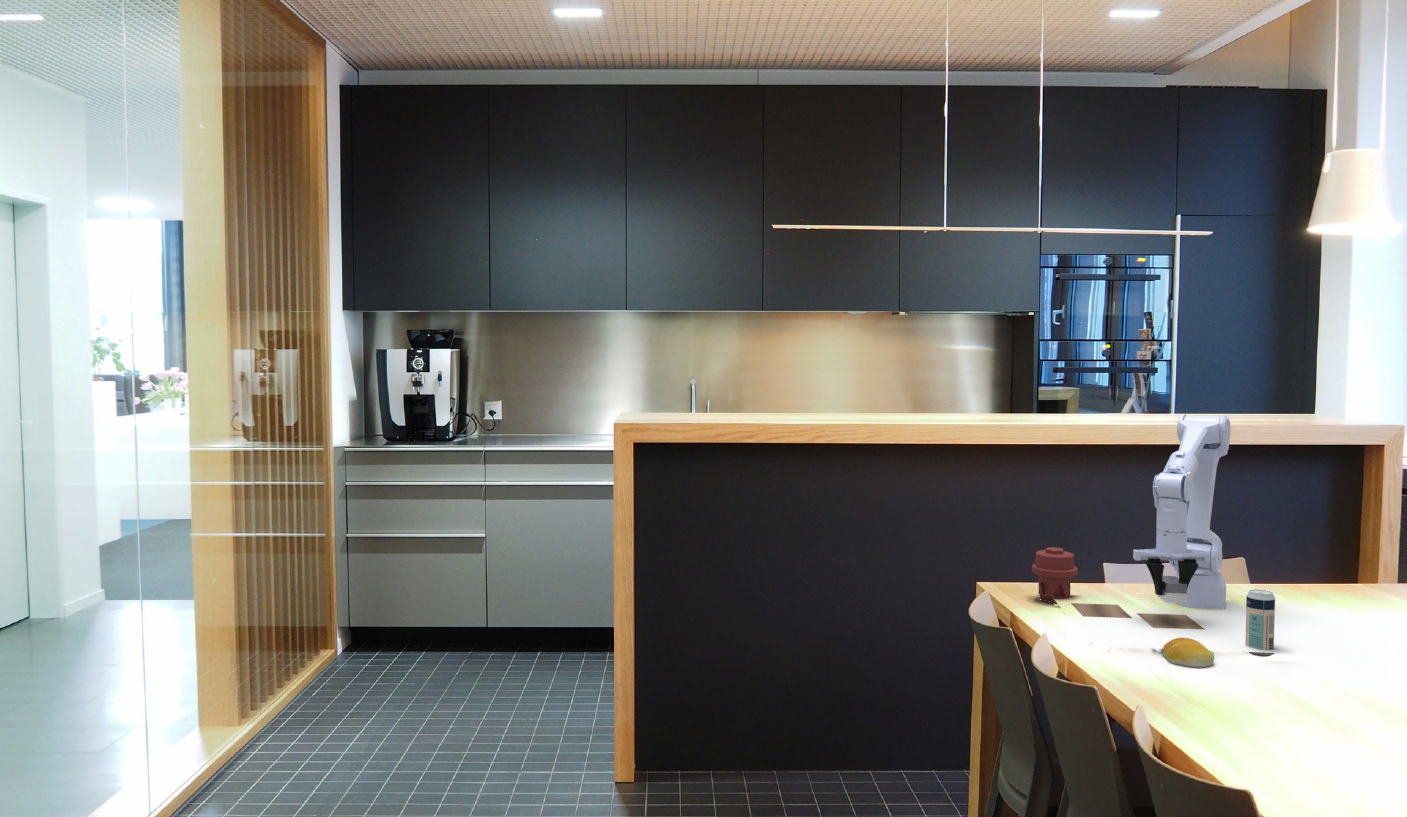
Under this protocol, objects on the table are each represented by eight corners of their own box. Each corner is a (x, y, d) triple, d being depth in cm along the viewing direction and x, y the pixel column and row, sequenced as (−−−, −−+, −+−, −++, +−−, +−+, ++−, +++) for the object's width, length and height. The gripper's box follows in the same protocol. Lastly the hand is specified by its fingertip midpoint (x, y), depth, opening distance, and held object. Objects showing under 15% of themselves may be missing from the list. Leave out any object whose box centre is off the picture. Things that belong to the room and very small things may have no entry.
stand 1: (1117, 611, 210) (1117, 604, 210) (1132, 624, 199) (1132, 617, 199) (1070, 609, 212) (1070, 603, 212) (1083, 623, 201) (1083, 616, 201)
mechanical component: (1067, 595, 224) (1083, 606, 214) (1025, 595, 225) (1039, 606, 215) (1068, 544, 224) (1084, 553, 214) (1026, 544, 224) (1040, 553, 214)
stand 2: (1185, 621, 202) (1185, 614, 202) (1205, 636, 191) (1205, 629, 191) (1136, 620, 203) (1136, 613, 203) (1152, 634, 192) (1153, 627, 192)
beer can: (1270, 651, 181) (1272, 589, 180) (1276, 658, 176) (1278, 595, 176) (1242, 648, 182) (1243, 587, 182) (1247, 656, 178) (1249, 593, 177)
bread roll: (1172, 668, 172) (1173, 646, 172) (1158, 653, 181) (1158, 632, 181) (1221, 670, 171) (1222, 648, 170) (1204, 655, 179) (1204, 634, 179)
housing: (1174, 594, 200) (1175, 576, 199) (1186, 603, 193) (1187, 583, 193) (1154, 594, 200) (1155, 575, 200) (1166, 602, 193) (1166, 583, 193)
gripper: (1140, 533, 193) (1139, 598, 194) (1216, 534, 191) (1214, 600, 192) (1130, 527, 200) (1129, 590, 201) (1203, 528, 198) (1201, 591, 199)
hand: (1170, 594), depth 197 cm, fingers closed on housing, 4 cm apart
